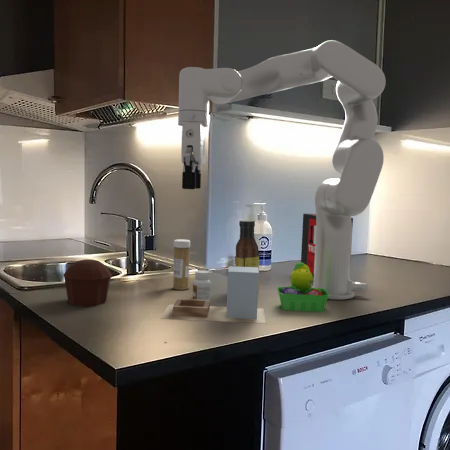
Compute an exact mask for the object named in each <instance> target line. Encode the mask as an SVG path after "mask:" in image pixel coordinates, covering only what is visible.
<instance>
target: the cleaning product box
mask: <svg viewBox="0 0 450 450" xmlns="http://www.w3.org/2000/svg"><path fill="white" fill-rule="evenodd" d="M351 221H352V229H353V228H354V227H353V225H354V224H353V223H354V217H351ZM301 231H302V235H301V254H300V256H301V257H300V262H302V263H304V264H305V265H307V266H308V267H309V269H310V272H311V274H312V276H313V280H314V262H315V243H316V213H303V215H302V230H301ZM352 243H353V242H352ZM352 243H351V246H353V245H352ZM351 261H352V259H351V260H350V263H352V262H351ZM349 278H350V279H351V277H349Z"/></svg>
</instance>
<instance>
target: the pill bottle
mask: <svg viewBox="0 0 450 450" xmlns="http://www.w3.org/2000/svg"><path fill="white" fill-rule="evenodd" d="M194 273H195V274H194V275H195V279H194V280H193V282H192V299H198V300H210V301H211V297H212V296H211V293H212V291H211V290H212V289H211V288H212V282H211V280H210V279H209V278H210V271H209V270H196V271H195V272H194Z"/></svg>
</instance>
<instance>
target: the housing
mask: <svg viewBox="0 0 450 450" xmlns="http://www.w3.org/2000/svg"><path fill="white" fill-rule="evenodd" d="M258 281H259V282H260V269H259V270H258V267H235V265H234V266H232V265H229V266H228V271H227V293H226V296H227V297H226V307H227V316H226V318H242V319H257V308H258V304H259V303H258V302H259V301H258V299H259V298H258V297H259V289H258Z"/></svg>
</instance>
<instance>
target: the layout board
mask: <svg viewBox="0 0 450 450" xmlns="http://www.w3.org/2000/svg"><path fill="white" fill-rule="evenodd" d="M226 316H227V306H215V305H211V299H210V300H198V299H193V298H177V299H176V300H175V302H174V304H171V303H170V304H168V305H167V307H166V308H165V310H164V311H163V313H162V314H161V316H160V318H159V319H163V320H184V321H203V322H204V321H206V322H224V323H225V322H226V323H227V322H229V323H251V324H266V323H267V322H266V316H265V310H264V308H262V307H261V308H259V307H257V319H242V318H226Z"/></svg>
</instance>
